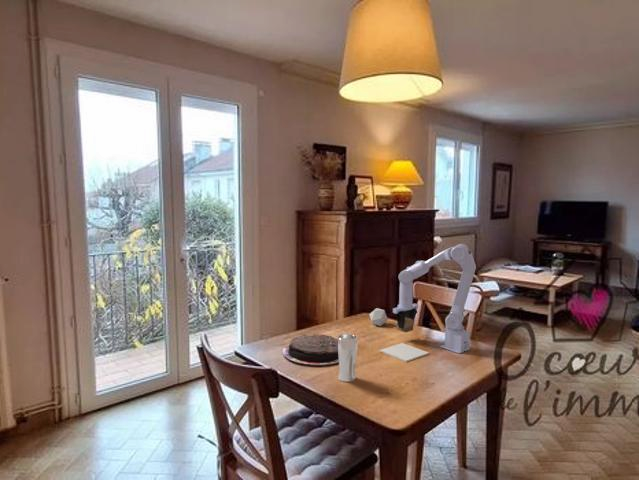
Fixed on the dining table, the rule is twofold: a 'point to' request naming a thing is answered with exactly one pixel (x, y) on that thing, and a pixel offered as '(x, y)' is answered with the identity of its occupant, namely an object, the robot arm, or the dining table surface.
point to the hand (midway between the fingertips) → (405, 326)
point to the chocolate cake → (312, 350)
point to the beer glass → (347, 356)
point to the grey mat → (404, 352)
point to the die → (378, 317)
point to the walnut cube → (406, 325)
